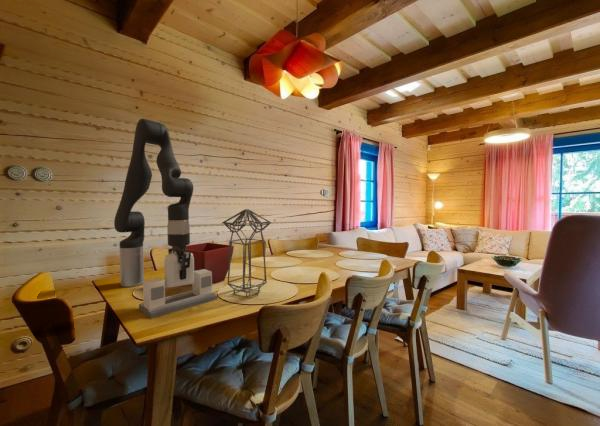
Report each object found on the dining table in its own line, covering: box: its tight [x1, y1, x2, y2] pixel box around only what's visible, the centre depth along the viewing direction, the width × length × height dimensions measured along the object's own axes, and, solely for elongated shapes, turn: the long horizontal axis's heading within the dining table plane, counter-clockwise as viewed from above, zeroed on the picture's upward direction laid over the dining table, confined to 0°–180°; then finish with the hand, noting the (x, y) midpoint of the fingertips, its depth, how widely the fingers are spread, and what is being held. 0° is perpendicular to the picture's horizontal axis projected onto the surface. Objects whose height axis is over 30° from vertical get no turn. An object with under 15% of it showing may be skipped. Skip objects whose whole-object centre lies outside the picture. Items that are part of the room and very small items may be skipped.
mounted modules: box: [142, 269, 213, 309], centre depth 104 cm, size 6×23×9 cm, turn 137°
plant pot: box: [186, 242, 235, 285], centre depth 133 cm, size 19×19×17 cm
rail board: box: [138, 290, 218, 319], centre depth 105 cm, size 12×24×2 cm, turn 137°
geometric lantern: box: [220, 208, 272, 298], centre depth 115 cm, size 16×16×35 cm
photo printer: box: [163, 253, 194, 289], centre depth 104 cm, size 10×4×12 cm, turn 124°
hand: (179, 277), depth 104 cm, fingers closed on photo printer, 5 cm apart
